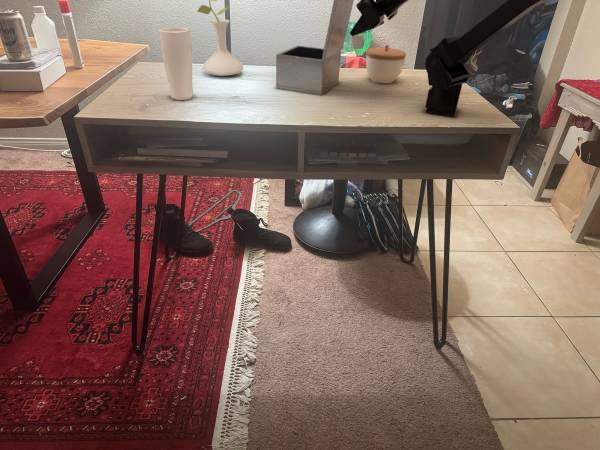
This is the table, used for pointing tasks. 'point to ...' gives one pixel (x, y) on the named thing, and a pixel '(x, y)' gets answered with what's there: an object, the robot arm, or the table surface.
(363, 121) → the table surface
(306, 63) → the tin
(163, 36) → the drinking glass
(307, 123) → the table surface
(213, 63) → the flower in vase
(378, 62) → the trinket box
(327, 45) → the lid
